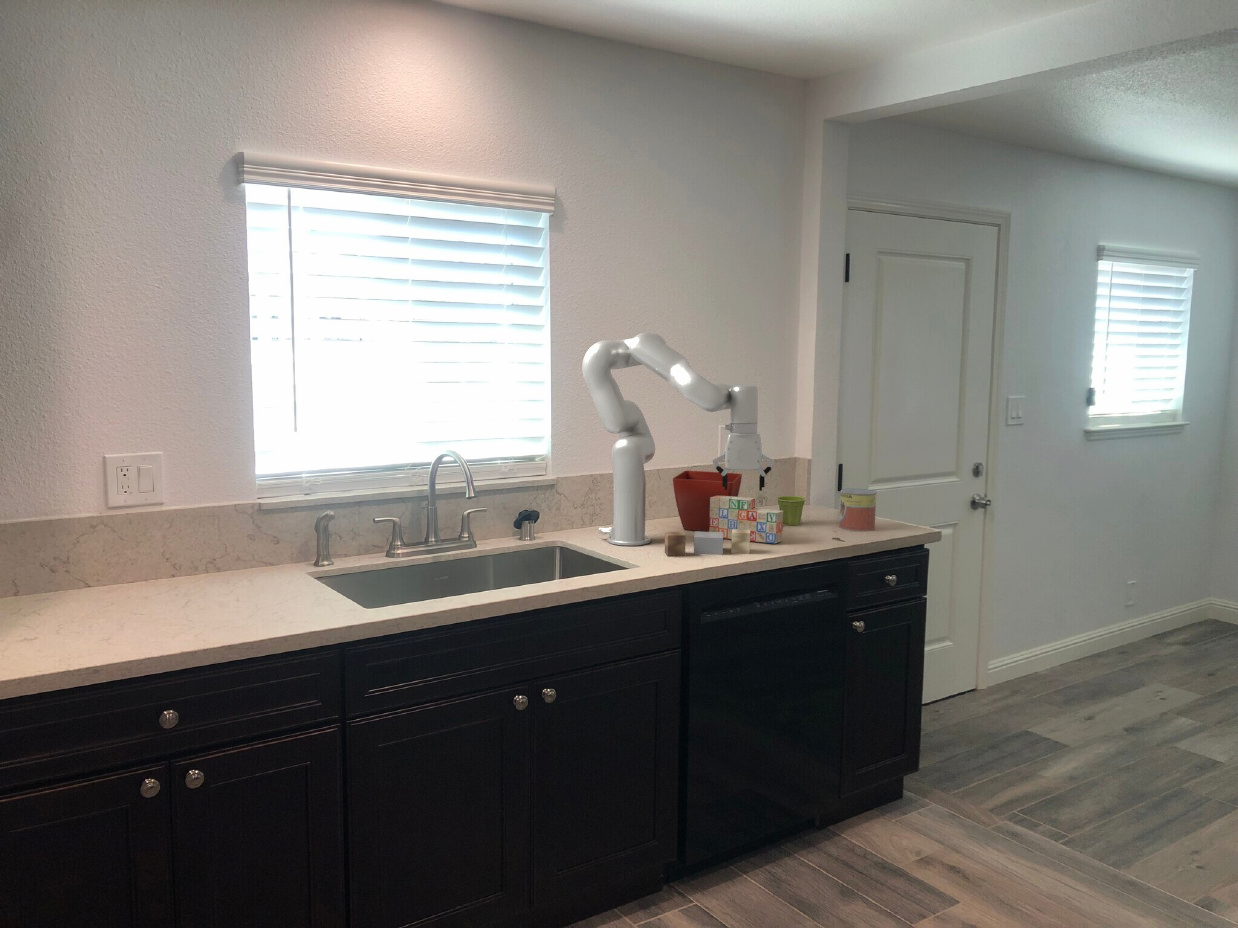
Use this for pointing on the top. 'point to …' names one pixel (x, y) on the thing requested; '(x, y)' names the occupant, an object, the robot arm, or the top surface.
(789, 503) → the plant pot
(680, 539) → the walnut cube
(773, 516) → the stack of blocks
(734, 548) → the maple cube
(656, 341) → the robot arm
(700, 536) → the stone block
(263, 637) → the top surface
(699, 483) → the plant pot
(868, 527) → the canned food
